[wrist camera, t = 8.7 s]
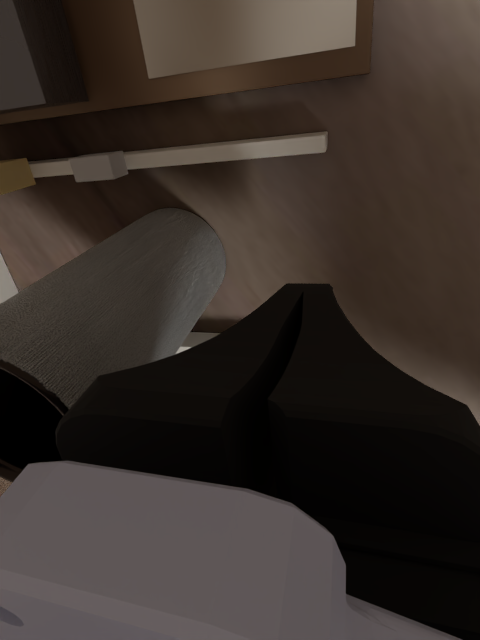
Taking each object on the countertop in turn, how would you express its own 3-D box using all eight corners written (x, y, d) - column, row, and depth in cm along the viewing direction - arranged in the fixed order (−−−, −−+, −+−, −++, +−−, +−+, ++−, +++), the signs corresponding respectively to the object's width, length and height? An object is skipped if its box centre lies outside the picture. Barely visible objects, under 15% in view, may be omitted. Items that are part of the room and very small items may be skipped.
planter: (115, 223, 17) (-129, 363, 8) (203, 192, 15) (7, 328, 6) (159, 309, 19) (-2, 495, 10) (241, 290, 17) (129, 496, 8)
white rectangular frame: (327, 123, 13) (321, 132, 10) (326, 351, 17) (321, 396, 15) (-50, 163, 17) (-119, 176, 15) (31, 335, 22) (-11, 367, 19)
